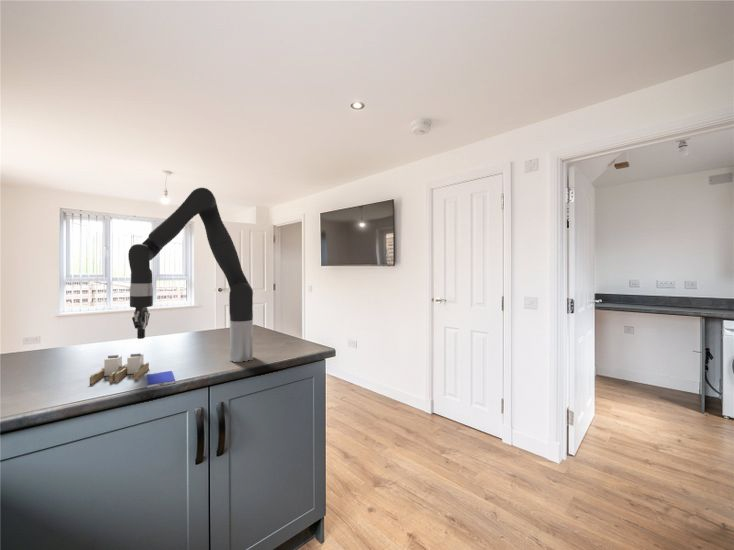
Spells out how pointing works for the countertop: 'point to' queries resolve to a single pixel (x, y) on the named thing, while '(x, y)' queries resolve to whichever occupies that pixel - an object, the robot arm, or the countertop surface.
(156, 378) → the hard drive
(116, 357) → the tab
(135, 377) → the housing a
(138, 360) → the tab
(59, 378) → the countertop surface
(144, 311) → the robot arm
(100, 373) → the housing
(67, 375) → the countertop surface
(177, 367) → the countertop surface
